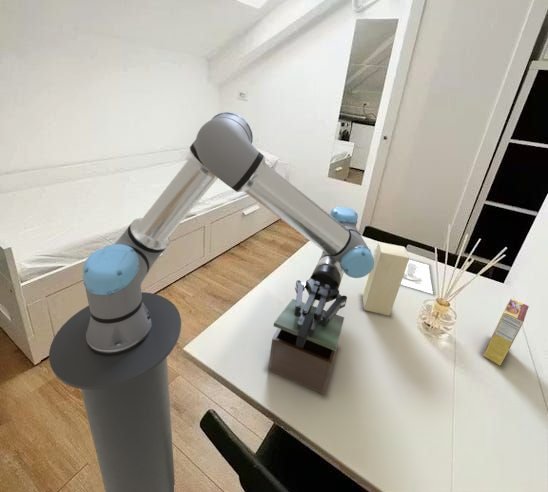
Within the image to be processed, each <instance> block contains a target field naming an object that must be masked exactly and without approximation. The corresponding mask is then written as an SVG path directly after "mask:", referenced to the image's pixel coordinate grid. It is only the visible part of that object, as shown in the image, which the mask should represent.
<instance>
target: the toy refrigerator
mask: <svg viewBox="0 0 548 492" xmlns="http://www.w3.org/2000/svg"><path fill="white" fill-rule="evenodd" d="M373 258H374V267H373V269H372V271H371V272H370V273H369V274H368V275H367V276H368V277H367V279H366V282H365V283H366V284H365V287H364V290H363V293H362V304H363V310H364V311H367V312H371V313H376V314H380V315H384V316H391V313H392V311H393V307H394V305H395V301H396V299H397V296H398V293H399V290H400V287H401V281H402V279H403V276H404V273H405V270H406V267H407V264H408V261H409V260H410V256H409V253H408V252H407V249H406V247H405V246H403V245H397V244H392V243H387V242H382V241H378V242H377V245H376V249H375V252H374V255H373Z"/></svg>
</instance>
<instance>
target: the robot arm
mask: <svg viewBox="0 0 548 492" xmlns="http://www.w3.org/2000/svg"><path fill="white" fill-rule="evenodd" d="M253 137H254V136H253V131H252V128H251V126H250V124H249V123H248V121H247V120H246V119H245V118H244V117H242V116H241V115H239V114H237V113H234V112H230V111H229V112H228V111H227V112H226V111H225V112H219V113H217V114H215V115H214V116H213V117H212V118H211V119H210V120H208V121H207V122H205V123H204V124H203V125H202V126H201V127H200V129H199V130H198V132H197V134H196V137H195V140H194V141H193V142H192V143H191V145H190V146H189V153H190V156H189V158H188V159H187V161H185V163H184V164H183V165H182V167H181V168H180V169H179V170H178V171H177V173H176V175H175V176H174V177H173V178H172V179H171V181H170V182H169V184H168V185H167V186H165V189H164V190H163V191H162V192H161V194H160V195H159V196H158V198H157V199H156V200H155V202H154V203H153V204H152V205H151V206H150V208H149V209H148V210H147V212H146V213H145V214H144V216H143V217H138V218H135V219H133V220H132V222H130V224H129V225H128V227H127V228H126V229H125V230H124V232H123V233H122V234H121V236H120V237H119V238H118V239H117V240H116V241H115V243H114V244H110V245H106V246H104V247H103V248H98V249H97V250H95V251H94V252H92V253H91V254H90V255H88V257H87V258H86V259H85V261H84V262H83V266H82V282H83V285H84V288H85V293H86V298H87V302H88V306H89V308H90V313H91V317H90V322H89V326H88V328H87V332H86V340H87V344H88V347H89V348H90V350H91V351H93V352H94V353H96V354H99V355H104V356H112V355H119V354H122V353H125V352H128V351H130V350H132V349H134V348H136V347H137V346H138V345H140V344H141V343H142V342H143V341H144V340H145V339H146V338H147V337H148V335H149V333H150V331H151V328H152V321H151V317H152V316H151V314H150V313H149V312H148V310H147V309H146V307H145V305H144V304H143V302H142V294H141V292H142V284H143V282H144V280H145V278H146V277H147V275H148V273H149V271H150V270H151V268H152V267H153V265H154V264H155V262H156V261H157V260H158V258H159V257H160V256H161V255H162V254H163V253H164V252H165V250H166V249H167V248H168V246H169V245H170V243H171V237H170V236H171V235H172V234H173V232H174V231H175V230H176V229H177V228H178V226H179V225H180V224H181V223H182V222H183V221H184V219H185V218H186V217H187V216H188V214H189V213H190V212H191V211H192V209H193V208H194V207H195V206H196V205H197V204H198V203H199V201H200V200H201V199H202V197H204V195H205V194H206V193H207V192H208V191H209V189H210V188H212V186H213V185H214V184H215V182H216V181H217V180H218V179H219V180H220V181H221V182H223V183H224V184H225V185H227V187H229V188H231V189H232V190H233V191H235V192H236V193H242V192H243V193H246V194H247V195H248V196H250V197H251V198H252V199H254V200H255V201H256V202H258V204H259V205H261V206H263V207H264V208H265V209H267V210H269V211H270V212H271V213H272V214H274V215H275V216H276V217H278V218H279V219H280V220H282V221H283V222H284V223H286V224H287V225H289V226H290V227H291V228H293V229H294V230H295V231H296V232H298V233H299V234H300V235H302V236H303V237H305V238H306V239H307V240H308V241H310V242H311V243H312V244H314V245H315V246H317V247H318V248H319V249H321V250H322V251H321V256H320V257H319V260H318V261H317V263H316V265H315V267H314V269H313V272H312V273H311V275H310V278H309V279H307V280H306V281H305V282H302V281H301V279H297V280H296V281H295V287H294V290H295V293H296V298H295V300H296V305H295V313H294V315H295V316H297V317H298V316H299V317H300V318H299V320H298V323H297V329H298V330H300V331H299V333H298V335H297V341H296V346H298V347H301V348H303V346H304V344H305V341H306V339H307V336H308V334H310V335H314V333H315V330H316V328H317V326H318V325H322V326H323V327H326V326H327V325H328V323H329V322H330V321H331V320H332V318H333V317H334V316H335V314H336V315H337V313H338V312H339V311H340V310H341V309H343V308H345V307H346V305H347V300H348V297H347V296H346V295H341V294H340V290H339V289H340V285H341V283H342V280H343V278H344V277H343V276H344V274H345V275H346V276H348V277H349V278H354V279H360V278H363V277H366V276H368V275H369V273H370V272H371V271H372V269H373V267H374V255H373V254H372V251H371V249H370V248H369V246H368V245H367V243H366V242H365V240H364V238H363V237H362V235H361V233H360V231H359V230H358V228H357V224H358V217H359V214H358V213H357V211H356V210H354V209H353V208H351V207H346V206H336V207H333V208H332V209H331V210H330V213H329V212H327V211H326V210H325V209H324V208H322V207H321V206H320V205H319V204H317V203H316V202H315V201H314V200H312V199H311V198H310V197H308V196H307V195H306V194H305V193H303V191H301V190H300V189H298V188H297V187H296V186H295V185H293V184H292V183H291V182H290V181H288V180H287V179H286V178H284V177H283V176H282V175H281V174H279V172H277V170H275V169H273V168H272V167H271V166H270V165H269V164H267V163H266V157H265V155H264V154H262V153H261V152H260V151H259V150H258V149H257V148H256V147H255V146H254V145H253V142H254V141H253V139H254V138H253ZM305 290H306V292H307V294H308V298H307V300H306V301H305V303H306V304H305V306H304V308H303V309H302V308H301V303H302V301H303V292H304V291H305ZM316 301H318V304H317V305H316V307H317V308H316V311H315V312H314V317H313V316H312V315H310V314H309V313H310V311H311V308H312V306H314V305H315V302H316ZM332 301H333V302H332ZM329 302H332V304H331V305H330V306H329V307H328V308H327V310H325V308H326V304H327V303H329ZM323 310H325V311H326V312H325V313H324V315H323V316H321V315H322V312H323Z"/></svg>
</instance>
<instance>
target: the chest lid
mask: <svg viewBox="0 0 548 492" xmlns="http://www.w3.org/2000/svg"><path fill="white" fill-rule="evenodd" d="M305 304H306V302H302V303H301V308H302V309H303V308H304V306H305ZM295 305H296V298H292V299H291V300H290V302H289V303H288V304H287V306H286V307H285V308H284V309H283V311H282V312H281V313H280V315H279V316H278V317H277V318H276V320H275V321H274V322H273V327H275V328H276V329H278V328H279V329H282V330H284V331H287V332H289V333H292V334H294V335H298V333H299V331H300V330H298V329H297V323H298V320H299V318H300V317H299V316H298V317H297V316H295V315H294V313H295ZM316 308H317V306H314V305H313V306H312V308H311V311H310V313H309V314H310V315H312V316H313V317H314V312H315V311H316ZM326 311H327V310H325V309H323V312H322V315H321V316H323V315H324V313H325V312H326ZM344 321H345V317H344V316H341V315H339V314H337V313H336V314H335V316H334V317H333V318H332V320H331V321H330V322H329V323H328V325H327V326H326V327H323V326H322V325H318V326H317V328H316V330H315V333H314V335H310V334H308V336H307V340H309V341H312V342H314V343H317V344H319V345H322V346H324V347H327V348H329V349H332V350H334V351H336V352H337V349H336V347H337V348H338V345H337V344H339V341H338V340H340V337H341V333H342V329H343V325H344V324H343V323H344ZM340 332H341V333H340ZM339 336H340V337H339Z"/></svg>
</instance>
